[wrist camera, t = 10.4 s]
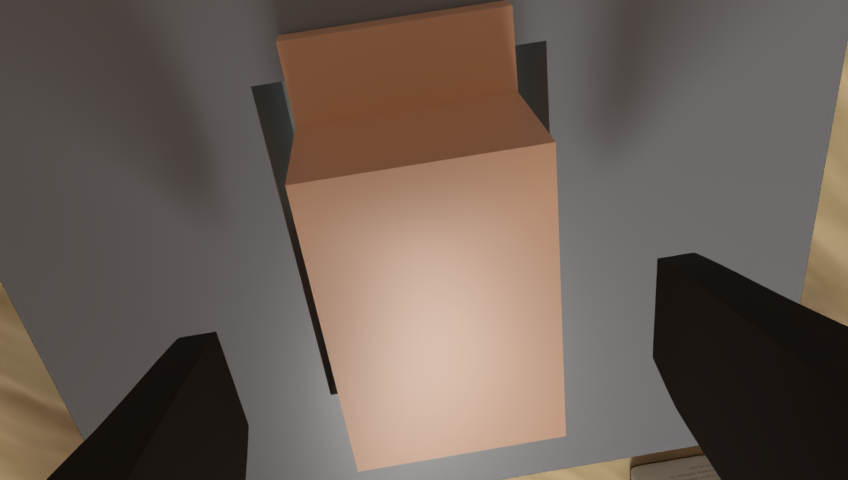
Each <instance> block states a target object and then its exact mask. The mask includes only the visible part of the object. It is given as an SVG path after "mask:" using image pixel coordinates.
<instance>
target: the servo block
mask: <svg viewBox="0 0 848 480" xmlns="http://www.w3.org/2000/svg"><path fill="white" fill-rule="evenodd" d="M276 45H277V50H278V54H279V58H280V62H281V67H282V71H283V75H284V79H285V84H286V88H287V92H288V96H289V101H290V105H291V109H292V113H293V118H294V122H295V126H296V128H295V134H294V139H293V144H292V150H291V155H290V161H289V166H288V172H287V177H286V183H285V188H286V192H287V196H288V200H289V204H290V207H291V211H292V215H293V219H294V223H295V227H296V231H297V235H298V239H299V243H300V247H301V251H302V255H303V259H304V262H305V266H306V270H307V274H308V278H309V282H310V286H311V290H312V294H313V298H314V302H315V306H316V310H317V314H318V318H319V321H320V325H321V329H322V333H323V337H324V341H325V345H326V349H327V353H328V357H329V361H330V365H331V369H332V373H333V376H334V380H335V384H336V388H337V392H338V396H339V400H340V404H341V408H342V412H343V416H344V420H345V424H346V428H347V432H348V435H349V439H350V443H351V447H352V451H353V455H354V459H355V463H356V467H357V471H358V472H361V471H367V470H372V469H378V468H384V467H390V466H396V465H402V464H407V463H413V462H419V461H425V460H431V459H436V458H442V457H448V456H454V455H460V454H465V453H471V452H477V451H483V450H489V449H494V448H500V447H506V446H512V445H518V444H524V443H529V442H535V441H541V440H547V439H553V438H558V437H564V436H566V421H565V392H564V363H563V334H562V305H561V276H560V247H559V218H558V189H557V160H556V142H555V140H554V139H553V138H552V136H551V135H550V134H549V132H548V131H547V130H546V128H545V127H544V126H543V124H542V123H541V122H540V120H539V119H538V118H537V116H536V115H535V114H534V112H533V111H532V110H531V108H530V107H529V106H528V105H527V103H526V102H525V101H524V99H523V98H522V97H521V95H520V94H519V93H518V85H517V68H516V52H515V36H514V20H513V5H512V4H511V3H509V2H508V1H507V0H503V1H496V2H490V3H484V4H477V5H471V6H464V7H458V8H451V9H445V10H438V11H432V12H425V13H419V14H413V15H406V16H400V17H393V18H387V19H380V20H374V21H367V22H361V23H354V24H348V25H341V26H335V27H329V28H322V29H316V30H309V31H303V32H296V33H290V34H283V35H278V37H277V40H276Z"/></svg>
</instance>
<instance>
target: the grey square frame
mask: <svg viewBox="0 0 848 480" xmlns="http://www.w3.org/2000/svg"><path fill="white" fill-rule="evenodd" d="M496 1H503V0H0V281H1V283H2V285H3V286H4V288H5V290H6V292H7V294H8V296H9V298H10V300H11V302H12V304H13V306H14V307H15V309H16V311H17V313H18V315H19V317H20V319H21V321H22V323H23V325H24V327H25V329H26V330H27V332H28V334H29V336H30V338H31V340H32V342H33V344H34V346H35V348H36V350H37V352H38V353H39V355H40V357H41V359H42V361H43V363H44V365H45V367H46V369H47V371H48V373H49V375H50V376H51V378H52V380H53V382H54V384H55V386H56V388H57V390H58V392H59V394H60V396H61V398H62V399H63V401H64V403H65V405H66V407H67V409H68V411H69V413H70V415H71V417H72V419H73V421H74V422H75V424H76V426H77V428H78V430H79V432H80V434H81V436H82V438H83V440H84V441H85V440H86V439H87V438H88V437H89V436H90V435H91V434H92V433H93V432H94V431H95V430H96V429H97V428H98V426H99V425H100V424H101V423H102V422H103V421H104V420H105V419H106V418H107V416H108V415H109V414H110V413H111V412H112V411H113V410H114V409H115V408H116V406H117V405H118V404H119V403H120V402H121V401H122V400H123V399H124V398H125V396H126V395H127V394H128V393H129V392H130V391H131V390H132V389H133V388H134V386H135V385H136V384H137V383H138V382H139V381H140V380H141V378H142V377H143V376H144V375H145V374H146V373H147V372H148V370H149V369H150V368H151V367H152V366H153V365H154V364H155V362H156V361H157V360H158V359H159V358H160V357H161V356H162V355H163V353H164V352H165V351H166V350H167V349H168V348H169V347H170V346H171V345H172V344H173V343H174V342H175V341H176V340H177V339H178V338H180V337H186V336H192V335H198V334H204V333H210V332H217V335H218V338H219V341H220V344H221V347H222V350H223V352H224V355H225V358H226V361H227V364H228V367H229V370H230V373H231V376H232V378H233V381H234V384H235V387H236V390H237V393H238V396H239V399H240V402H241V404H242V407H243V410H244V413H245V416H246V419H247V422H248V425H249V432H248V454H247V469H246V480H501V479H507V478H513V477H519V476H525V475H530V474H536V473H542V472H548V471H554V470H559V469H565V468H571V467H577V466H583V465H588V464H594V463H600V462H606V461H612V460H618V459H623V458H629V457H635V456H641V455H647V454H652V453H658V452H664V451H670V450H676V449H681V448H687V447H693V446H699V445H698V443H697V441H696V440H695V438H694V437H693V435H692V433H691V432H690V430H689V429H688V427H687V426H686V424H685V422H684V421H683V419H682V417H681V416H680V414H679V413H678V411H677V409H676V407H675V405H674V403H673V401H672V399H671V397H670V395H669V393H668V391H667V388H666V386H665V384H664V382H663V380H662V377H661V375H660V373H659V371H658V368H657V366H656V364H655V362H654V359H653V338H654V317H655V297H656V276H657V258H664V257H670V256H676V255H682V254H688V253H697V254H699V255H701V256H704V257H706V258H708V259H710V260H712V261H715V262H717V263H719V264H721V265H723V266H725V267H727V268H729V269H731V270H733V271H735V272H737V273H739V274H741V275H743V276H745V277H747V278H749V279H750V280H752V281H754V282H756V283H758V284H760V285H762V286H764V287H766V288H768V289H770V290H772V291H774V292H776V293H778V294H780V295H782V296H784V297H786V298H788V299H790V300H792V301H794V302H796V303H798V304H800V301H801V296H802V290H803V285H804V279H805V273H806V268H807V262H808V257H809V251H810V246H811V240H812V235H813V229H814V224H815V218H816V212H817V207H818V201H819V196H820V190H821V185H822V179H823V174H824V168H825V163H826V157H827V151H828V146H829V140H830V135H831V129H832V124H833V118H834V113H835V107H836V102H837V96H838V90H839V85H840V79H841V74H842V68H843V63H844V57H845V52H846V46H847V41H848V0H507V1H508V2H509V3H511V4H512V5H513V20H514V36H515V52H516V68H517V85H518V93H519V94H520V95H521V97H522V98H523V99H524V101H525V102H526V103H527V105H528V106H529V107H530V108H531V110H532V111H533V112H534V114H535V115H536V116H537V118H538V119H539V120H540V122H541V123H542V124H543V126H544V127H545V128H546V130H547V131H548V132H549V134H550V135H551V136H552V138H553V139H554V140H555V142H556V160H557V189H558V218H559V247H560V276H561V305H562V334H563V363H564V392H565V421H566V436H564V437H558V438H553V439H547V440H541V441H535V442H529V443H524V444H518V445H512V446H506V447H500V448H494V449H489V450H483V451H477V452H471V453H465V454H460V455H454V456H448V457H442V458H436V459H431V460H425V461H419V462H413V463H407V464H402V465H396V466H390V467H384V468H378V469H372V470H367V471H361V472H358V471H357V467H356V463H355V459H354V455H353V451H352V447H351V443H350V439H349V435H348V432H347V428H346V424H345V420H344V416H343V412H342V408H341V404H340V400H339V396H338V392H337V388H336V384H335V380H334V376H333V373H332V369H331V365H330V361H329V357H328V353H327V349H326V345H325V341H324V337H323V333H322V329H321V325H320V321H319V318H318V314H317V310H316V306H315V302H314V298H313V294H312V290H311V286H310V282H309V278H308V274H307V270H306V266H305V262H304V259H303V255H302V251H301V247H300V243H299V239H298V235H297V231H296V227H295V223H294V219H293V215H292V211H291V207H290V204H289V200H288V196H287V192H286V188H285V183H286V177H287V172H288V166H289V161H290V155H291V150H292V144H293V139H294V134H295V128H296V126H295V122H294V118H293V113H292V109H291V105H290V101H289V96H288V92H287V88H286V84H285V79H284V75H283V71H282V67H281V62H280V58H279V54H278V50H277V45H276V40H277V37H278V35H283V34H290V33H296V32H303V31H309V30H316V29H322V28H329V27H335V26H341V25H348V24H354V23H361V22H367V21H374V20H380V19H387V18H393V17H400V16H406V15H413V14H419V13H425V12H432V11H438V10H445V9H451V8H458V7H464V6H471V5H477V4H484V3H490V2H496Z"/></svg>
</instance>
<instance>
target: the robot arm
mask: <svg viewBox="0 0 848 480" xmlns="http://www.w3.org/2000/svg"><path fill="white" fill-rule="evenodd" d="M653 359H654V362H655V364H656V366H657V368H658V371H659V373H660V375H661V377H662V380H663V382H664V384H665V386H666V388H667V391H668V393H669V395H670V397H671V399H672V401H673V403H674V405H675V407H676V409H677V411H678V413H679V414H680V416H681V417H682V419H683V421H684V422H685V424H686V426H687V427H688V429H689V430H690V432H691V433H692V435H693V437H694V438H695V440H696V441H697V443H698V445H699V446H700V448H701V449H702V451H703V453H704V454H705V456H706V457H707V459H708V460H709V462H710V463H711V465H712V467H713V468H714V470H715V471H716V473H717V474H718V476H719V477H720V479H721V480H848V327H847V326H845V325H843V324H841V323H838V322H836V321H834V320H832V319H830V318H828V317H826V316H823V315H821V314H819V313H817V312H815V311H813V310H811V309H809V308H807V307H804V306H802V305H800V304H798V303H796V302H794V301H792V300H790V299H788V298H786V297H784V296H782V295H780V294H778V293H776V292H774V291H772V290H770V289H768V288H766V287H764V286H762V285H760V284H758V283H756V282H754V281H752V280H750V279H749V278H747V277H745V276H743V275H741V274H739V273H737V272H735V271H733V270H731V269H729V268H727V267H725V266H723V265H721V264H719V263H717V262H715V261H712V260H710V259H708V258H706V257H704V256H701V255H699V254H697V253H688V254H682V255H676V256H670V257H664V258H657V276H656V297H655V317H654V338H653ZM248 432H249V425H248V422H247V419H246V416H245V413H244V410H243V407H242V404H241V402H240V399H239V396H238V393H237V390H236V387H235V384H234V381H233V378H232V376H231V373H230V370H229V367H228V364H227V361H226V358H225V355H224V352H223V350H222V347H221V344H220V341H219V338H218V335H217V332H210V333H204V334H198V335H192V336H186V337H180V338H178V339H177V340H176V341H175V342H174V343H173V344H172V345H171V346H170V347H169V348H168V349H167V350H166V351H165V352H164V353H163V355H162V356H161V357H160V358H159V359H158V360H157V361H156V362H155V364H154V365H153V366H152V367H151V368H150V369H149V370H148V372H147V373H146V374H145V375H144V376H143V377H142V378H141V380H140V381H139V382H138V383H137V384H136V385H135V386H134V388H133V389H132V390H131V391H130V392H129V393H128V394H127V395H126V396H125V398H124V399H123V400H122V401H121V402H120V403H119V404H118V405H117V406H116V408H115V409H114V410H113V411H112V412H111V413H110V414H109V415H108V416H107V418H106V419H105V420H104V421H103V422H102V423H101V424H100V425H99V426H98V428H97V429H96V430H95V431H94V432H93V433H92V434H91V435H90V436H89V437H88V438H87V439H86V440H85V441H84V442H83V443H82V444H81V445H80V446H79V447H78V448H77V449H76V450H75V451H74V452H73V453H72V454H71V455H70V456H69V457H68V458H67V459H66V460H65V461H64V462H63V463H62V464H61V465H60V466H59V467H58V468H57V469H56V470H55V471H54V473H53V474H52V475H51V476H50V477H49V478H48V479H47V480H246V469H247V454H248Z"/></svg>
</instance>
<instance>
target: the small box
mask: <svg viewBox="0 0 848 480" xmlns="http://www.w3.org/2000/svg"><path fill="white" fill-rule="evenodd" d="M631 480H721V479H720V477H719V476H718V474H717V473H716V471H715V470H714V468H713V467H712V465H711V463H710V462H709V460H708V459H707V457H706V456H705V455H700V456H694V457H688V458H682V459H676V460H670V461H664V462H658V463H652V464H646V465H641V466H636V467H633V468H632V469H631Z"/></svg>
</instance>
